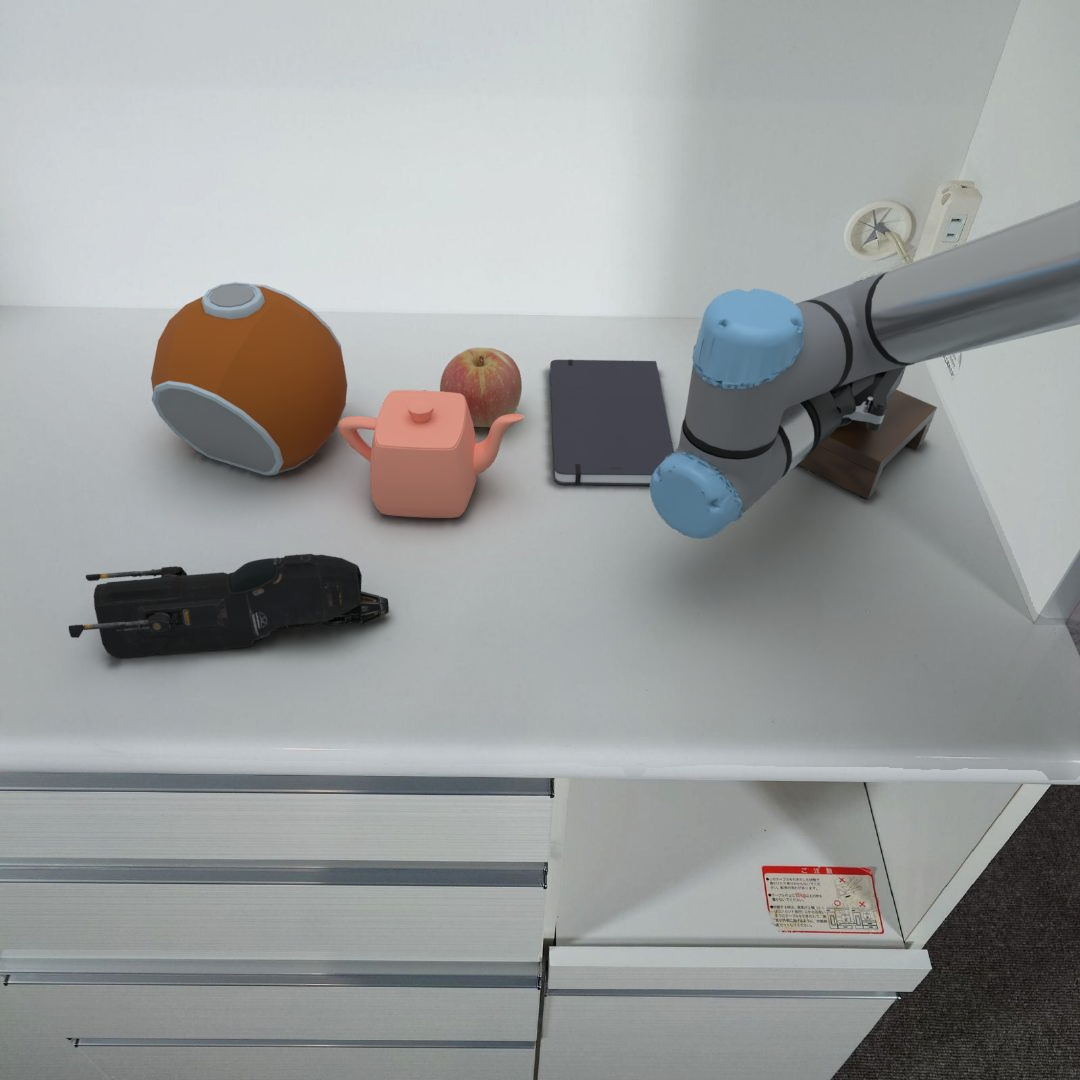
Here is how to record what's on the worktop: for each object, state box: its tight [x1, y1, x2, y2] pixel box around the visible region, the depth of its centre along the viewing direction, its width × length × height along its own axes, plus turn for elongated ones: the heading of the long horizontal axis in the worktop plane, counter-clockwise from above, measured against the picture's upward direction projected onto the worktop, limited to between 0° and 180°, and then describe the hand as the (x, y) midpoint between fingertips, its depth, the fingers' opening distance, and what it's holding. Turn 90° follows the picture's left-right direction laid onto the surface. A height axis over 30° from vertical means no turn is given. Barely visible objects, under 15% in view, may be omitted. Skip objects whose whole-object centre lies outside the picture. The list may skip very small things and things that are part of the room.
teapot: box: [337, 389, 525, 519], centre depth 91 cm, size 12×18×10 cm, turn 88°
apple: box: [439, 347, 523, 428], centre depth 101 cm, size 9×9×8 cm
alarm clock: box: [150, 281, 348, 476], centre depth 94 cm, size 19×18×17 cm
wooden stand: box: [797, 389, 938, 500], centre depth 100 cm, size 15×13×7 cm
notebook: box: [549, 359, 675, 487], centre depth 103 cm, size 13×2×21 cm
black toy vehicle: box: [68, 553, 390, 659], centre depth 78 cm, size 7×25×8 cm, turn 96°
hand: (897, 327), depth 96 cm, fingers closed on mug, 1 cm apart
